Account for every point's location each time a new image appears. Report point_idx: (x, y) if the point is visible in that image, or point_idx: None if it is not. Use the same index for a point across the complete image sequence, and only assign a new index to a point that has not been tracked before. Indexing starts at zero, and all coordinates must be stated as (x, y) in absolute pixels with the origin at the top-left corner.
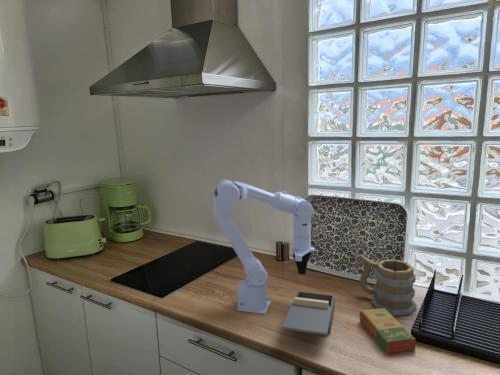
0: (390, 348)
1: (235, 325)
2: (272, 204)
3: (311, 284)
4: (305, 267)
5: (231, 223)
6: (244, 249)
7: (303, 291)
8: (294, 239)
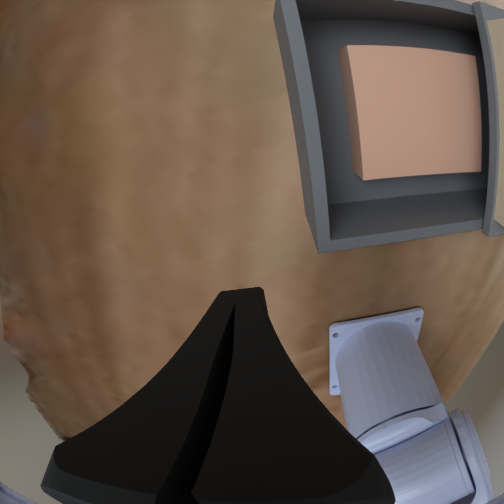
0: None
1: (474, 341)
2: None
3: (71, 224)
4: (280, 344)
5: None
6: None
7: (317, 215)
8: None
